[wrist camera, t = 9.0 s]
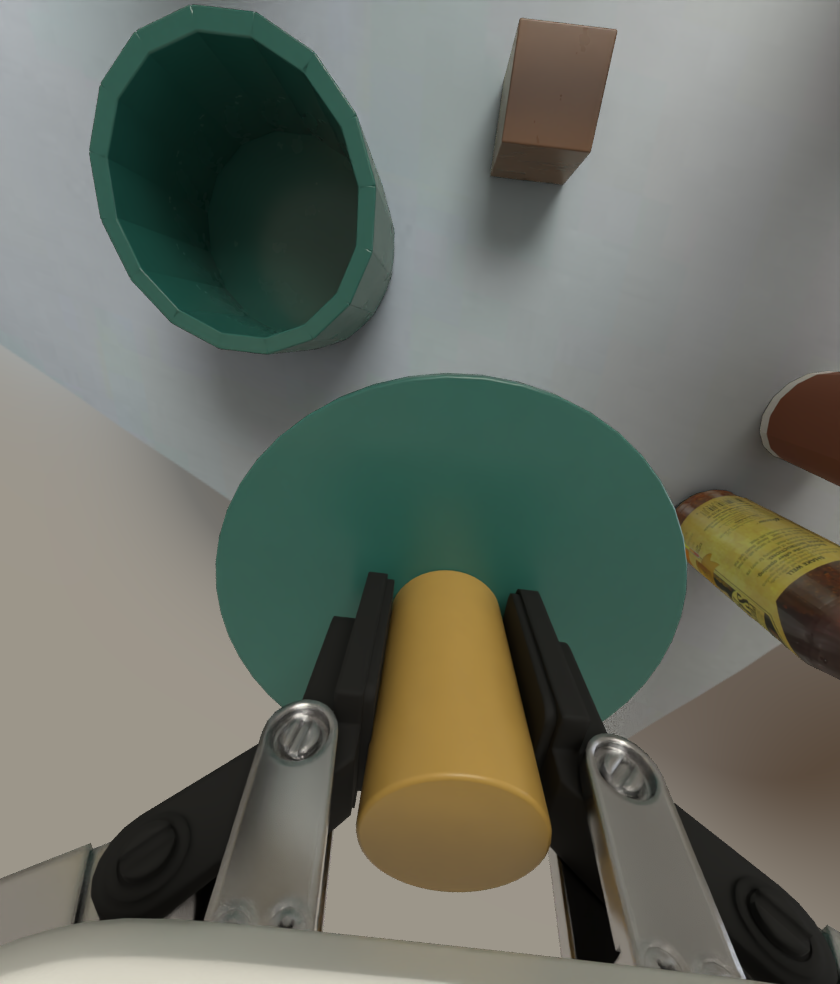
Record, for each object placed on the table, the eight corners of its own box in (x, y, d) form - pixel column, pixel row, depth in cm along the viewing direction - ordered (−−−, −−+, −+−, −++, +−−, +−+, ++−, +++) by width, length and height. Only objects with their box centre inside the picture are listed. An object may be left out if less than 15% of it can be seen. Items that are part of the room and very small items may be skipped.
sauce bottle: (648, 542, 32) (932, 819, 14) (690, 475, 30) (1102, 700, 11) (717, 564, 33) (1081, 860, 14) (765, 500, 30) (1271, 754, 12)
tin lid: (216, 341, 10) (-153, 347, 4) (739, 403, 10) (1243, 512, 4) (247, 715, 15) (113, 982, 9) (593, 754, 15) (705, 1046, 9)
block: (503, 78, 22) (520, 16, 17) (583, 87, 22) (618, 28, 18) (489, 176, 23) (501, 141, 19) (563, 185, 23) (591, 152, 19)
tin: (190, 107, 23) (59, -14, 15) (402, 133, 23) (384, 25, 15) (210, 337, 27) (120, 337, 20) (386, 357, 27) (366, 366, 20)
